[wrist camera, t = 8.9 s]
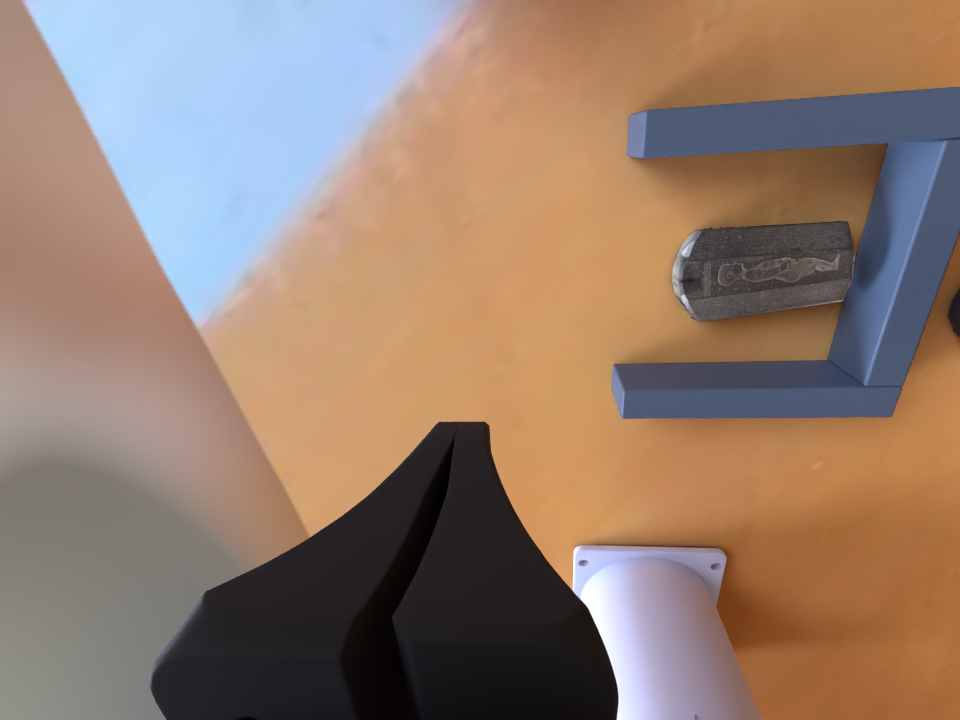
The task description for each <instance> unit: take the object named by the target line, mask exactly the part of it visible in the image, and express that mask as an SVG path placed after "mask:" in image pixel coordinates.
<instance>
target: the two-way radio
mask: <svg viewBox="0 0 960 720" xmlns="http://www.w3.org/2000/svg"><path fill="white" fill-rule="evenodd" d="M949 318H950V320H951V322H952V325H953V327H954V328H953V331H954V332H955V333H956V334H957V335H958V336H960V289H959V291H958V293H957V294H956V296H955V297H954V299H953V301H952V304H951V308H950V311H949Z"/></svg>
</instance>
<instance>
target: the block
mask: <svg viewBox="0 0 960 720" xmlns="http://www.w3.org/2000/svg"><path fill="white" fill-rule="evenodd" d="M704 229H705V228H704ZM854 249H855V248H854V246H853V241H852V237H851V233H850V229H849V224H848V222H844V221H835V222H819V223H815V222H814V223H802V224H786V225H770V226H769V225H768V226H754V227H753V226H751V227H750V226H748V227H724V228H723V227H720V229H712V228H709V229H708V230H695V231H694V232H693V233H692V234H691V235H690V236H689V237H688V238H687V239H686V241H685V242H684V243H683V245H682V246H681V248H680V250H679V251H678V254H677V256H676V258H675V262H674V265H673V271H672V285H673V289H674V293H675V296H676V298H677V300H678V301H679V303H680V304H681V306H682V307H683V308H684V309H685V310H686V311H687V312H688V313H689V314H691V316H692V317H691V318H692V319H695V320H697V321H700V322H704V321H712V320H719V319H726V318H733V317H740V316H747V315H753V314H761V313H767V312H773V311H779V310H785V309H793V308H800V307H808V306H815V305H822V304H828V303H833V302H843V299H844V296H845V294H846V291H847V289H848V286H849V285H850V283H851V280H852V276H853V266H854V259H855V256H854V252H855V250H854Z"/></svg>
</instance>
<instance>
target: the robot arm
mask: <svg viewBox="0 0 960 720" xmlns="http://www.w3.org/2000/svg"><path fill="white" fill-rule="evenodd" d="M581 560H585V561H581ZM726 561H727V557H726V555H725V553H724V551H723V550H721V549H718V548H688V547H645V546H602V545H580V546H578V547H576V548H575V550H574V565H573V591H572V590H571V589H570V587H569V586H568V585H567V584H566V583H565V582H564V581H563V580H562V578H561V577H560V576H559V575H558V573H557V572H556V571H555V570H554V569H553V567H552V566H551V565H550V564H549V562H548V561H547V560H546V558H545V557H544V556H543V554H542V553H541V551H540V550H539V548H538V547H537V546H536V544H535V543H534V541H533V540H532V539H531V537H530V536H529V534H528V533H527V531H526V529H525V528H524V526H523V524H522V523H521V521H520V519H519V518H518V516H517V514H516V512H515V510H514V509H513V507H512V505H511V503H510V501H509V499H508V496H507V494H506V492H505V490H504V488H503V485H502V483H501V480H500V478H499V475H498V473H497V470H496V467H495V464H494V461H493V457H492V454H491V445H490V430H489V425H488V424H487V423H486V422H438V423H437V424H436V425H435V426H434V427H433V429H432V430H431V431H430V432H429V433H428V434H427V436H426V437H425V438H424V439H423V440H422V441H421V443H420V444H419V445H418V446H417V447H416V448H415V449H414V450H413V452H412V453H411V454H410V455H409V456H408V457H407V458H406V459H405V460H404V461H403V462H402V463H401V464H400V466H399V467H398V468H397V469H396V470H395V471H394V472H393V473H392V474H391V475H390V476H389V477H387V478H386V479H385V480H384V481H383V482H382V483H381V484H380V485H379V486H378V487H377V488H376V489H375V490H374V491H373V492H372V493H370V494H369V495H368V496H367V497H366V498H365V499H363V500H362V501H361V502H360V503H358V504H357V505H356V506H354V507H353V508H352V509H351V510H349V511H348V512H347V513H345V514H344V515H343V516H341V517H340V518H338V519H337V520H336V521H334V522H333V523H331V524H330V525H328V526H327V527H325V528H324V529H322V530H321V531H319V532H318V533H316V534H315V535H313V536H312V537H310V538H309V539H307V540H306V541H304V542H302V543H300V544H299V545H297V546H296V547H294V548H292V549H290V550H289V551H287V552H285V553H283V554H281V555H280V556H278V557H276V558H274V559H272V560H271V561H269V562H267V563H265V564H263V565H261V566H259V567H257V568H255V569H253V570H251V571H249V572H247V573H244V574H243V575H240V576H238V577H236V578H234V579H232V580H230V581H228V582H226V583H223V584H221V585H219V586H217V587H215V588H212V589H210V590H208V591H206V592H205V593H204V595H203V596H202V597H201V599H200V600H199V601H198V603H197V604H196V605H195V607H194V608H193V609H192V611H191V612H190V613H189V615H188V616H187V617H186V619H185V620H184V622H183V623H182V625H181V626H180V627H179V629H178V630H177V632H176V633H175V635H174V636H173V637H172V639H171V640H170V642H169V643H168V645H167V646H166V647H165V649H164V650H163V652H162V653H161V654H160V656H159V657H158V659H157V660H156V662H155V664H154V665H153V667H152V669H151V671H150V688H151V691H152V694H153V696H154V699H155V701H156V703H157V705H158V706H159V708H160V710H161V711H162V713H163V715H164V716H165V718H166V719H167V720H762V718H761V716H760V714H759V711H758V709H757V706H756V704H755V701H754V699H753V696H752V694H751V691H750V689H749V687H748V684H747V682H746V679H745V677H744V674H743V672H742V669H741V667H740V665H739V662H738V660H737V657H736V655H735V652H734V650H733V647H732V645H731V643H730V640H729V638H728V635H727V633H726V630H725V628H724V625H723V623H722V620H721V618H720V616H719V613H718V611H717V608H716V606H717V601H718V597H719V592H720V588H721V584H722V579H723V575H724V570H725V566H726Z"/></svg>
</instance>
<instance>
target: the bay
mask: <svg viewBox="0 0 960 720" xmlns="http://www.w3.org/2000/svg"><path fill="white" fill-rule="evenodd" d="M878 143H888V147H887V150H886V154H885V157H884V161H883V164H882V168H881V171H880V175H879V179H878V182H877V186H876V189H875V193H874V196H873V200H872V203H871V207H870V210H869V214H868V217H867V221H866V225H865V228H864V232H863V235H862V239H861V242H860V246H859V249H858V253H857V256H856V260H855V263H854V267H853V276H852V280H851V283H850V285H849V286H848V289H847V292H846V295H845V299H844V302H843V306H842V309H841V313H840V316H839V320H838V323H837V327H836V331H835V334H834V338H833V341H832V345H831V348H830V352H829V355H828V360H818V361H763V362H707V363H652V364H614V365H613V375H612V392H613V395H614V398H615V401H616V404H617V407H618V410H619V413H620V416H621V418H623V419H643V418H819V417H891V416H892V414H893V412H894V409H895V406H896V404H897V401H898V398H899V396H900V393H901V390H902V387H901V386H902V385H903V384H904V382H905V379H906V377H907V374H908V371H909V368H910V366H911V363H912V360H913V358H914V355H915V352H916V350H917V347H918V344H919V341H920V339H921V336H922V333H923V331H924V328H925V325H926V322H927V320H928V317H929V314H930V312H931V309H932V306H933V304H934V301H935V298H936V295H937V293H938V290H939V287H940V285H941V282H942V279H943V277H944V274H945V271H946V268H947V266H948V263H949V260H950V258H951V255H952V252H953V249H954V247H955V244H956V241H957V239H958V236H959V233H960V87H948V88H935V89H922V90H908V91H895V92H882V93H869V94H855V95H842V96H829V97H815V98H802V99H789V100H775V101H762V102H749V103H736V104H722V105H709V106H696V107H682V108H669V109H656V110H646V111H642V112H638V113H634V114H631V115H630V117H629V130H628V145H627V155H628V156H630V157H637V158H643V159H645V158H661V157H676V156H692V155H707V154H723V153H739V152H754V151H770V150H785V149H801V148H816V147H832V146H847V145H863V144H878Z"/></svg>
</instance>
